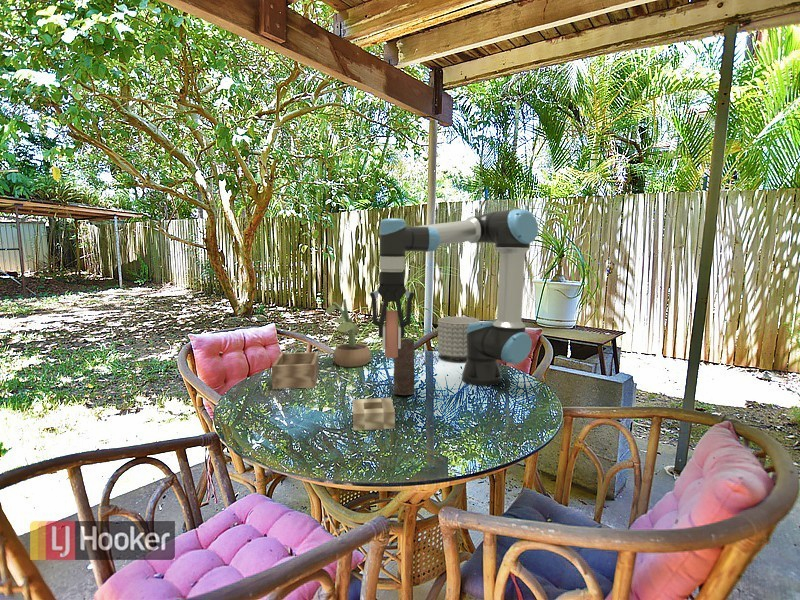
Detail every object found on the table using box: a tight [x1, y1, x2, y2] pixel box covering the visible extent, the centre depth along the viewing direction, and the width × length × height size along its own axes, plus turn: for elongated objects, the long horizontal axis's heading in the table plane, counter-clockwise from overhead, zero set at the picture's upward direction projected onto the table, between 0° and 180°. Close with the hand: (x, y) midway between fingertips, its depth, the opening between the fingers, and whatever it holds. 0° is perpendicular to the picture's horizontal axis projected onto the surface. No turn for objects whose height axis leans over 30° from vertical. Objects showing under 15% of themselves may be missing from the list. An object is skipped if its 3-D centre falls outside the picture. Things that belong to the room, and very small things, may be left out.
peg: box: [384, 309, 399, 359], centre depth 136 cm, size 4×4×14 cm
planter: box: [437, 316, 480, 361], centre depth 208 cm, size 19×19×18 cm
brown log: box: [393, 338, 415, 396], centre depth 157 cm, size 8×7×20 cm
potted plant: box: [325, 298, 372, 368], centre depth 197 cm, size 22×18×30 cm
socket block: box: [352, 397, 396, 431], centre depth 134 cm, size 12×12×5 cm
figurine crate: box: [271, 351, 320, 389], centre depth 175 cm, size 15×19×9 cm
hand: (391, 347), depth 136 cm, fingers closed on peg, 4 cm apart
